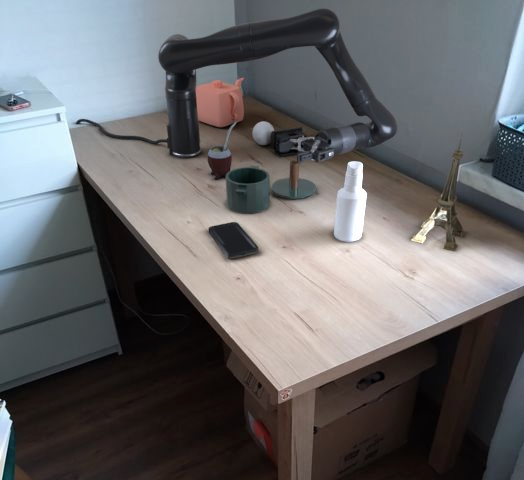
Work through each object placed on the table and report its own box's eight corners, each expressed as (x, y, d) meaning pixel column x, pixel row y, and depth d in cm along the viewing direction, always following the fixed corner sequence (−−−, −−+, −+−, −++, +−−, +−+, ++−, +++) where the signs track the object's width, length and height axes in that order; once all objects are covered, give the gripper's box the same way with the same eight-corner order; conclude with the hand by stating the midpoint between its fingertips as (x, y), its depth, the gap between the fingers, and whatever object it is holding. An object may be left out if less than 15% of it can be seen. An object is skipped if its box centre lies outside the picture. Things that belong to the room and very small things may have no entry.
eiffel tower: (454, 251, 129) (482, 145, 113) (411, 240, 133) (431, 136, 117) (465, 232, 136) (492, 129, 120) (424, 222, 140) (444, 121, 124)
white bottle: (363, 231, 137) (373, 160, 125) (358, 244, 132) (367, 171, 120) (337, 227, 138) (343, 156, 127) (330, 239, 134) (336, 167, 122)
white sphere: (279, 145, 181) (279, 122, 177) (260, 150, 178) (260, 127, 173) (262, 136, 188) (262, 114, 183) (244, 141, 185) (243, 118, 180)
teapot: (263, 119, 202) (263, 78, 193) (225, 132, 191) (223, 90, 182) (226, 107, 212) (224, 68, 203) (187, 119, 201) (184, 79, 192)
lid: (267, 198, 151) (267, 169, 146) (276, 180, 160) (276, 152, 155) (312, 202, 149) (314, 173, 144) (318, 183, 158) (320, 155, 153)
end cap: (297, 145, 182) (298, 124, 177) (307, 152, 177) (308, 131, 172) (269, 149, 179) (270, 128, 174) (278, 157, 174) (278, 135, 169)
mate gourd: (204, 178, 162) (200, 126, 152) (217, 168, 167) (214, 117, 157) (226, 182, 159) (224, 130, 149) (239, 172, 165) (237, 121, 155)
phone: (236, 221, 138) (259, 248, 128) (236, 225, 139) (259, 252, 129) (206, 227, 136) (228, 255, 126) (207, 231, 137) (228, 260, 126)
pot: (219, 216, 143) (218, 187, 138) (235, 189, 156) (234, 161, 150) (262, 220, 141) (262, 190, 136) (274, 192, 154) (275, 164, 149)
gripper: (321, 120, 155) (273, 130, 149) (353, 135, 146) (304, 147, 140) (319, 146, 160) (273, 158, 154) (350, 162, 151) (303, 175, 144)
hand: (288, 152), depth 147 cm, fingers open, 8 cm apart
